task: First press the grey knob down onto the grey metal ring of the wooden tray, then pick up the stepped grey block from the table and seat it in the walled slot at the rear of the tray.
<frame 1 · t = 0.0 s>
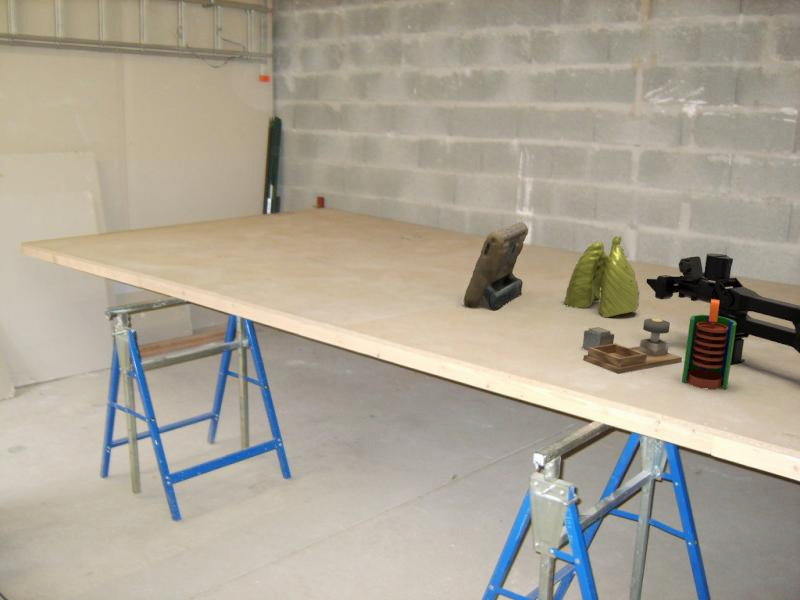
hand: (658, 279, 231), 17 cm above the table, tool horizontal, fingers open, 9 cm apart
stepped grey block: (597, 350, 218), on the table
wooden tray: (632, 360, 210), on the table
motor: (703, 383, 195), on the table
grey knob: (655, 330, 212), point 7 cm above the table, slide at 2.8 cm
lungs: (601, 310, 265), on the table
tablet: (494, 300, 271), on the table
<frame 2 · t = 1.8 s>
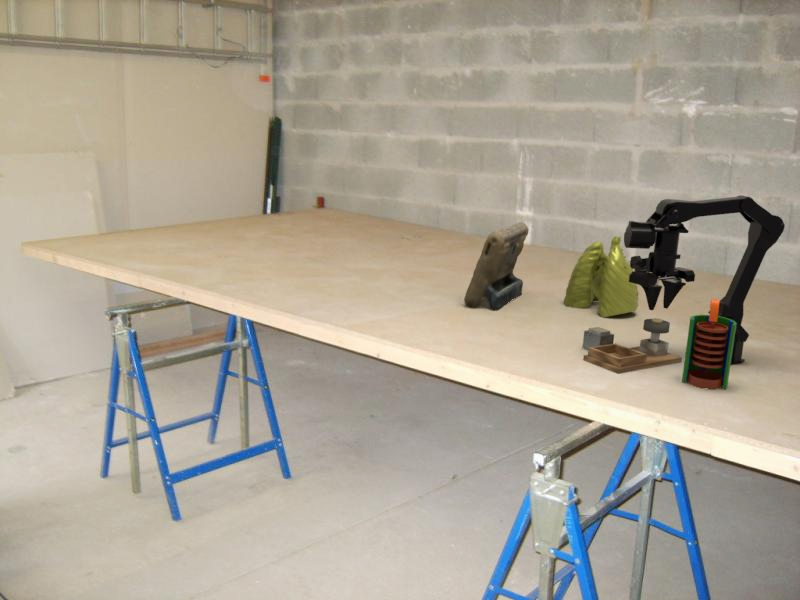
hand: (658, 309, 211), 13 cm above the table, tool pointing down, fingers open, 5 cm apart
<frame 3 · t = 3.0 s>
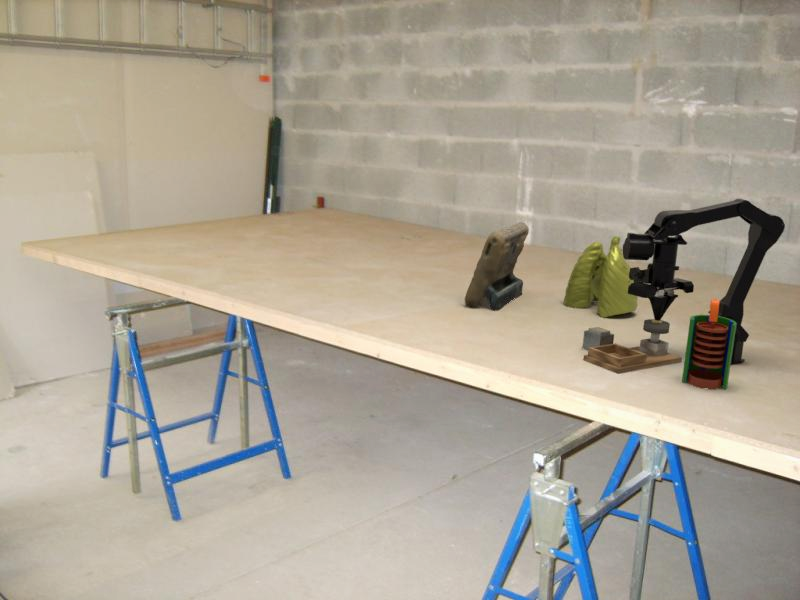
hand: (657, 320, 211), 10 cm above the table, tool pointing down, fingers closed, pressing on grey knob
grey knob: (655, 331, 212), point 7 cm above the table, slide at 2.7 cm, touching gripper
everything else where it was.
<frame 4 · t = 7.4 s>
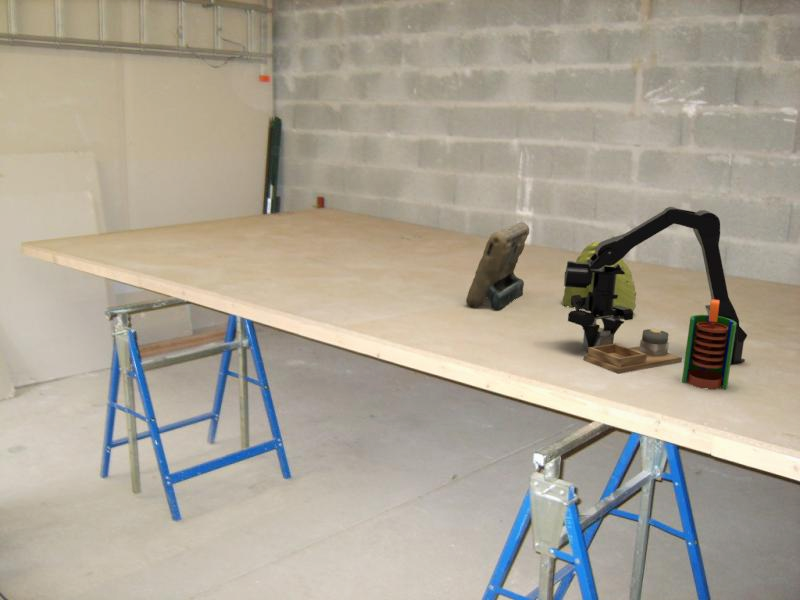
hand: (597, 346, 218), 1 cm above the table, tool pointing down, fingers closed on stepped grey block, 5 cm apart
stepped grey block: (597, 350, 218), on the table, touching gripper
grey knob: (654, 341, 213), point 4 cm above the table, slide at -0.1 cm
when the fingers open (5 cm above the table, at t = 10.9 s): stepped grey block drops 2 cm, resting on wooden tray.
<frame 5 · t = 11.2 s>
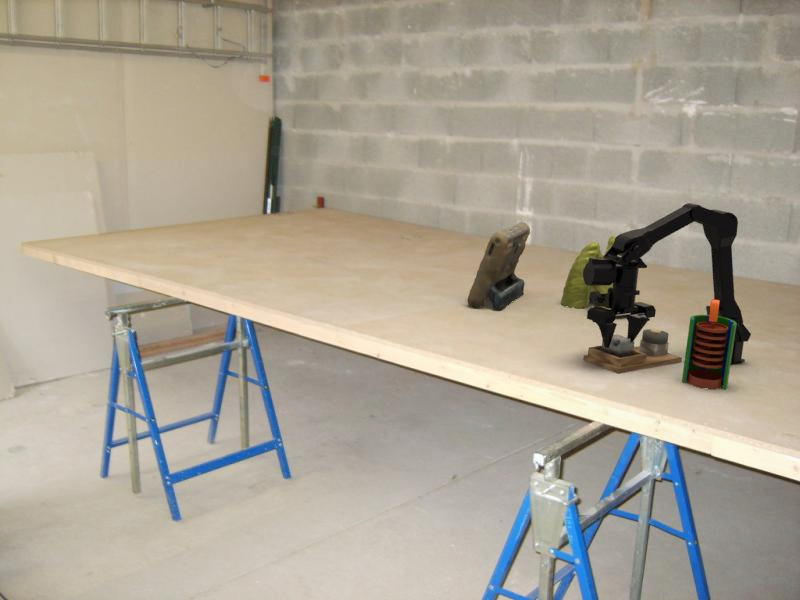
hand: (618, 345, 206), 5 cm above the table, tool pointing down, fingers open, 8 cm apart
stepped grey block: (616, 359, 206), point 1 cm above the table, touching wooden tray
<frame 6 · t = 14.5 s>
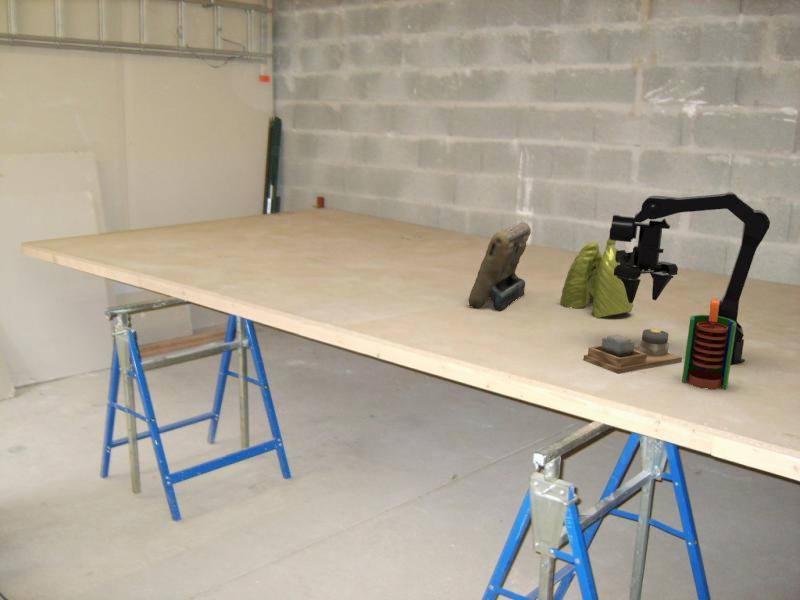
hand: (642, 301, 219), 13 cm above the table, tool pointing down, fingers open, 9 cm apart
at the end: grey knob slide at -0.1 cm; stepped grey block 0.0 cm from the target spot on the wooden tray, point 1.2 cm above the wooden tray's base; stepped grey block tilted 0° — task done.
